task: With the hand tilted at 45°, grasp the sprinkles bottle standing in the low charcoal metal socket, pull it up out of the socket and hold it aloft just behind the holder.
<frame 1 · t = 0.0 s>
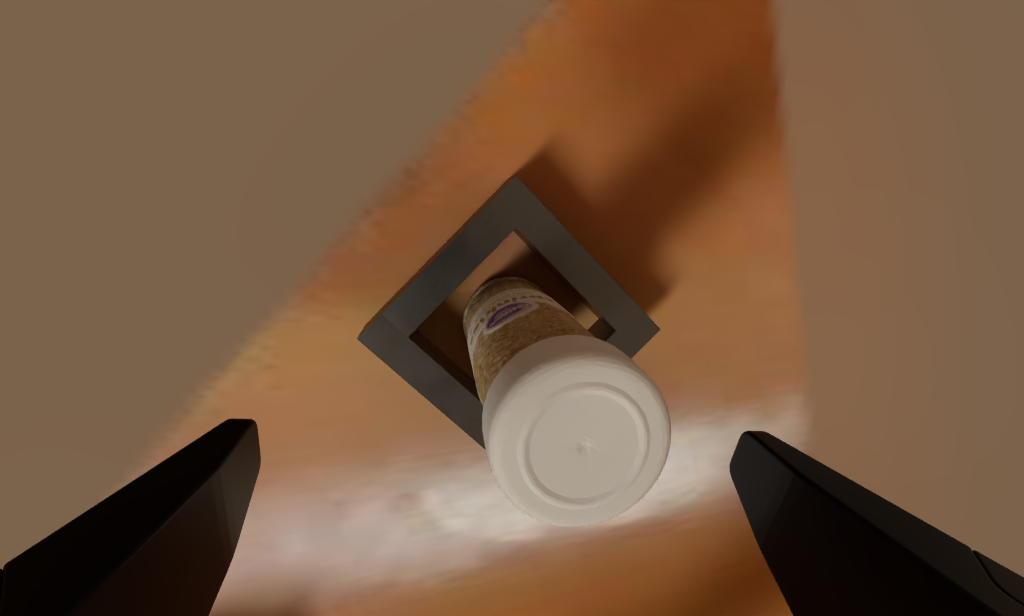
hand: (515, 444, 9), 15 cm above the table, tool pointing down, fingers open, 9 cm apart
sprinkles bottle: (506, 320, 25), resting in socket holder
socket holder: (507, 321, 25), on the table
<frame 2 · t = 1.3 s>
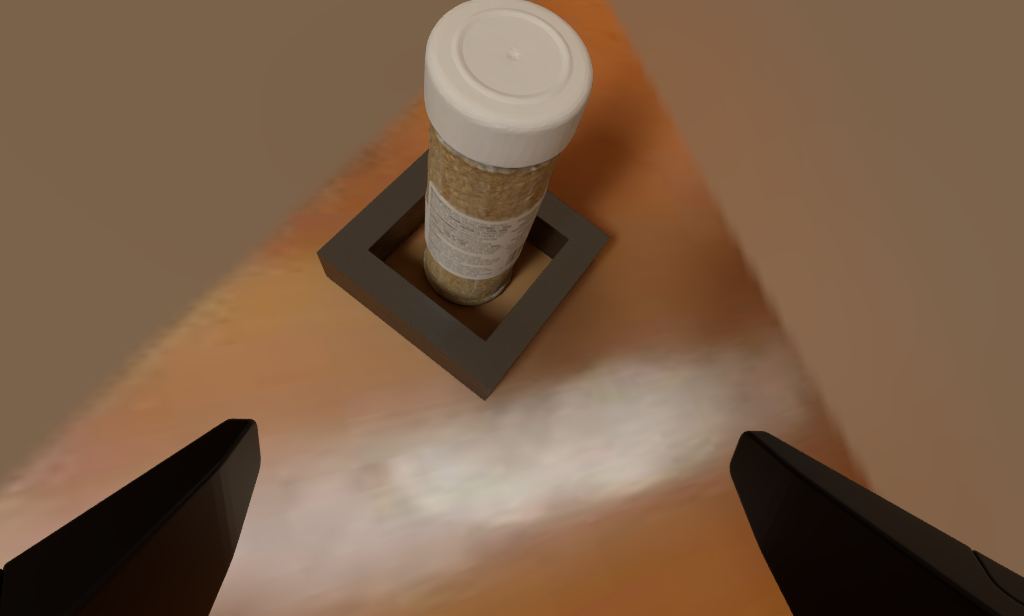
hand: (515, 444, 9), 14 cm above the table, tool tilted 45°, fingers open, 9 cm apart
sprinkles bottle: (467, 268, 26), resting in socket holder
socket holder: (467, 267, 26), on the table
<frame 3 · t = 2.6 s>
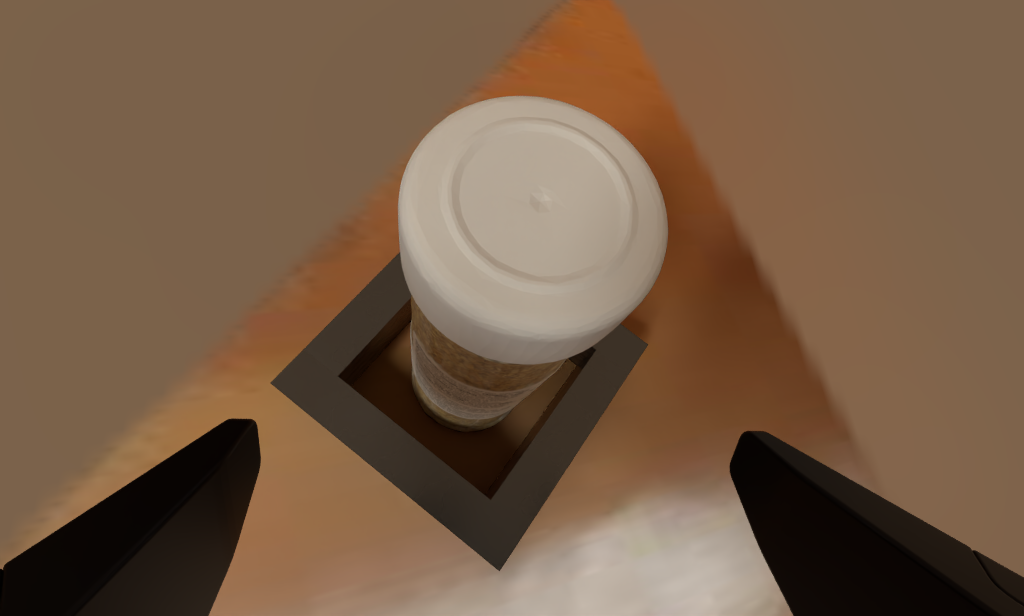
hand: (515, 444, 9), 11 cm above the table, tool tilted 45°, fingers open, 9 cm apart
sprinkles bottle: (467, 378, 21), resting in socket holder
socket holder: (467, 377, 20), on the table
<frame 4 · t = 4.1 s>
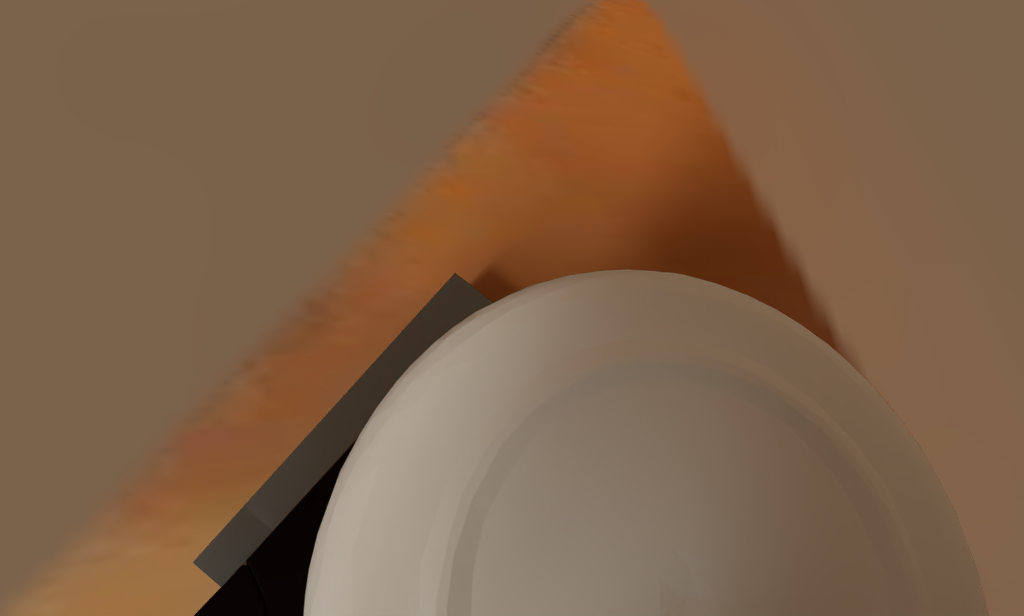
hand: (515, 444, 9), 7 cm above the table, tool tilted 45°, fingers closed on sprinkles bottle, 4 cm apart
sprinkles bottle: (472, 510, 16), resting in socket holder, touching gripper
socket holder: (473, 510, 15), on the table
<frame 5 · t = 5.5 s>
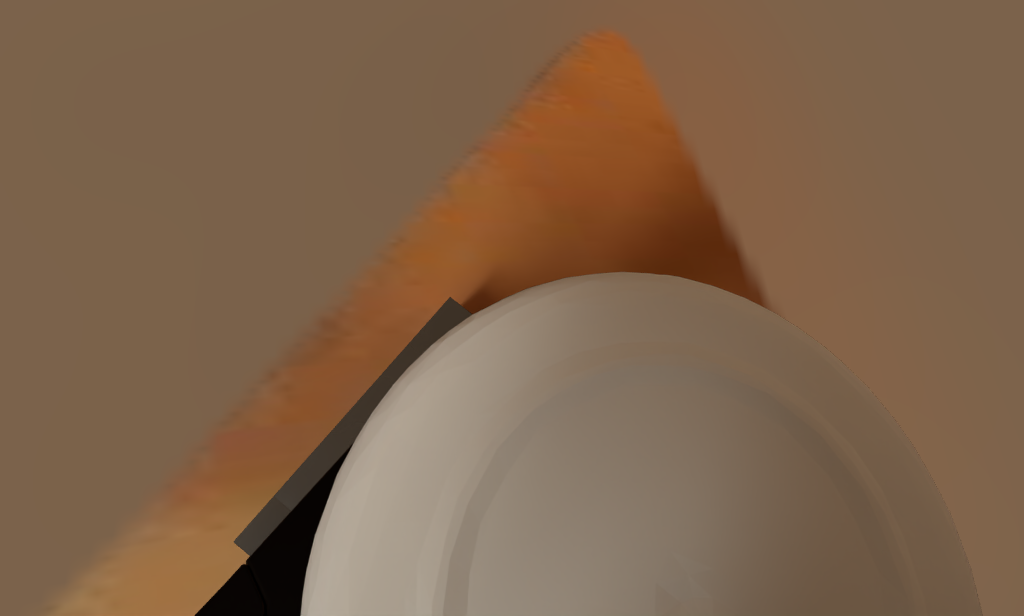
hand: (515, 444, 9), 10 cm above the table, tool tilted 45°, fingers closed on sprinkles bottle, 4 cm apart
sprinkles bottle: (472, 508, 16), point 2 cm above the table, touching gripper
socket holder: (465, 500, 18), on the table
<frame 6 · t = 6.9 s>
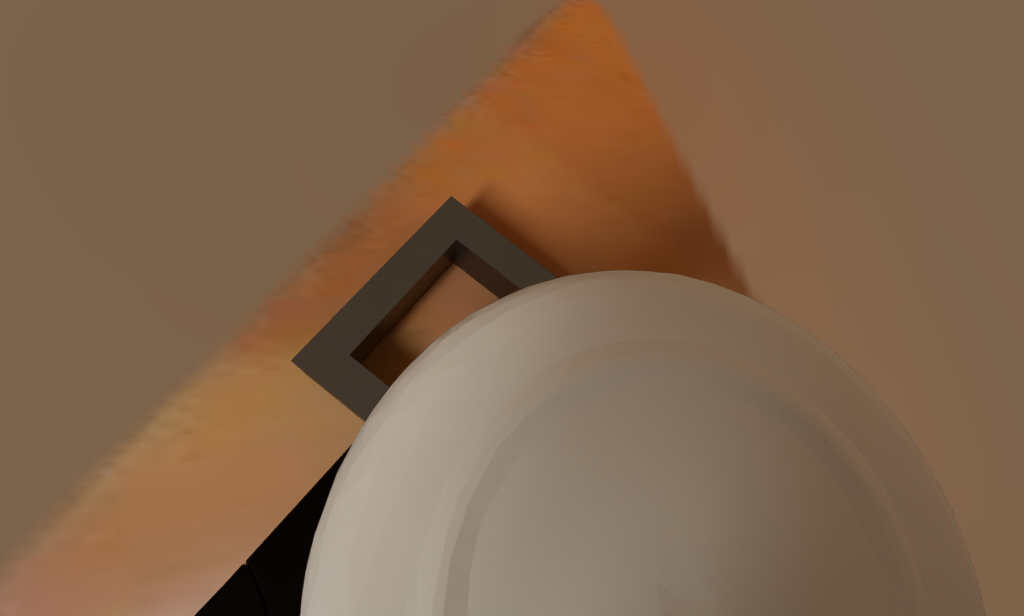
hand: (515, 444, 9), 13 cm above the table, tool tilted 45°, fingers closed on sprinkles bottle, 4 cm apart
sprinkles bottle: (472, 508, 16), point 6 cm above the table, touching gripper
socket holder: (463, 357, 23), on the table
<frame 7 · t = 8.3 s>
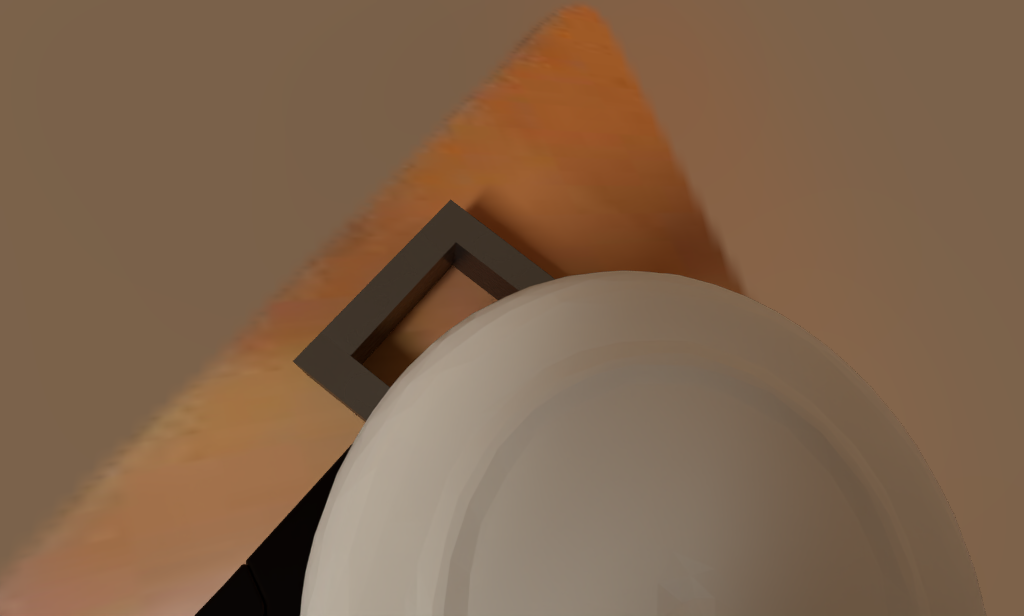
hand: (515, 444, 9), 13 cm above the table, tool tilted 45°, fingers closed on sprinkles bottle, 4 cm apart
sprinkles bottle: (472, 508, 16), point 6 cm above the table, touching gripper
socket holder: (463, 358, 23), on the table
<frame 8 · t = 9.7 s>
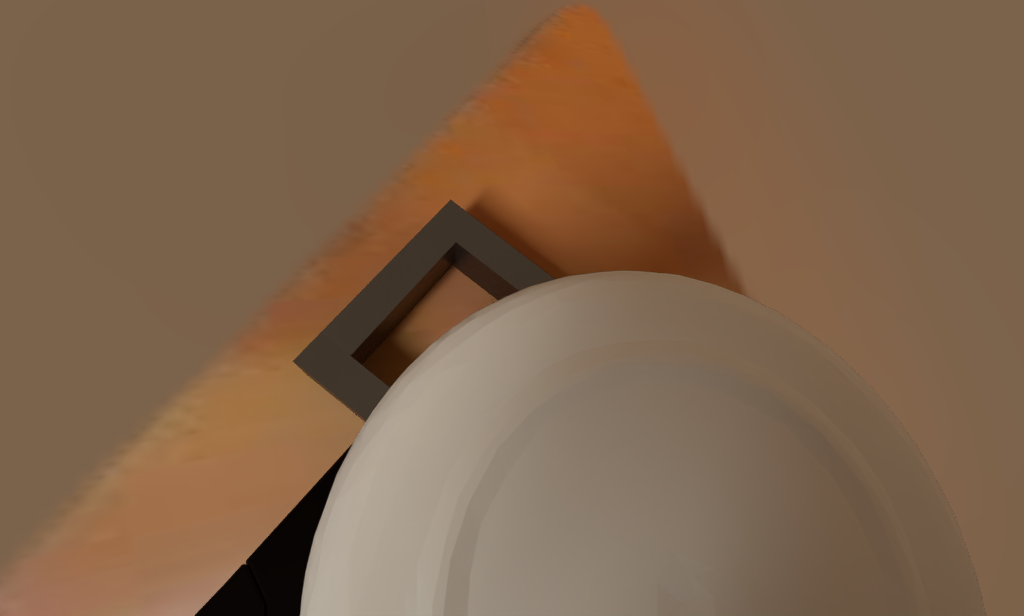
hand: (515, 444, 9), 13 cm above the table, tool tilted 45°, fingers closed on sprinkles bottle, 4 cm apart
sprinkles bottle: (472, 508, 16), point 6 cm above the table, touching gripper
socket holder: (463, 358, 23), on the table
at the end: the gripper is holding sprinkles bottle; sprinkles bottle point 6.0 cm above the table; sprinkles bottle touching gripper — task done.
